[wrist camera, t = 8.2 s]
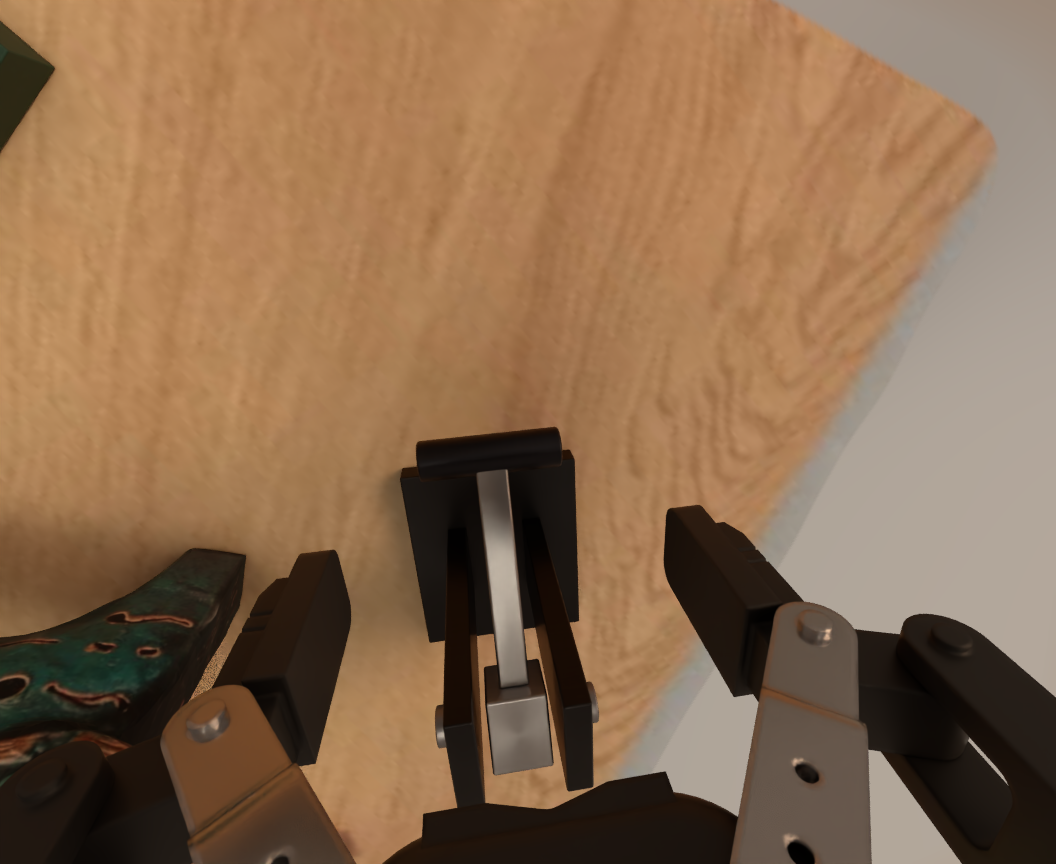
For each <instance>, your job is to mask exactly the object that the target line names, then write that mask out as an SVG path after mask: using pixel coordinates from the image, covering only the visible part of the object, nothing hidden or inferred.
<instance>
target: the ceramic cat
mask: <svg viewBox="0 0 1056 864" xmlns="http://www.w3.org/2000/svg"><path fill="white" fill-rule="evenodd" d="M245 561H246V555H241V554H235V553H228V552H222V551H215V550H207V549H196V548H195V549H190V550H189V551H187V552H186V553H185V554H183V555H182V556H181V557H180V558H179V559H178V560H177V561H176V562H174V563H173V564H172V565H171V566H170V567H168V568H167V569H166V570H164V571H163V572H161V573H160V574H159V575H157V576H156V577H154V578H153V579H152V580H150V581H149V582H147V583H146V584H144V585H143V586H141V587H140V588H138V589H136V590H135V591H133V592H132V593H130V594H128V595H126V596H124V597H122V598H119V599H117V600H114V601H112V602H110V603H107V604H105V605H103V606H101V607H99V608H97V609H95V610H93V611H91V612H89V613H87V614H85V615H83V616H81V617H79V618H77V619H74V620H71V621H69V622H66V623H64V624H61V625H58V626H56V627H52V628H49V629H46V630H43V631H39V632H34V633H30V634H26V635H19V636H11V637H0V787H1V786H2V785H3V784H4V782H5V781H6V780H7V779H8V778H10V777H11V776H12V775H13V774H14V773H15V772H16V771H18V770H19V769H20V768H21V767H23V766H24V765H25V764H27V763H28V762H30V761H31V760H33V759H34V758H36V757H38V756H39V755H41V754H43V753H45V752H47V751H49V750H51V749H53V748H55V747H58V746H60V745H63V744H66V743H70V742H74V741H91V742H94V743H96V744H97V745H98V746H99V747H100V748H101V750H102V752H103V753H104V755H105V757H106V756H109V755H111V754H114V753H116V752H119V751H121V750H124V749H126V748H129V747H131V746H134V745H136V744H139V743H141V742H144V741H146V740H149V739H151V738H154V737H156V736H158V735H160V734H162V733H163V730H164V728H165V727H166V725H167V723H168V722H169V720H170V719H171V718H172V717H173V715H174V714H175V713H176V712H177V711H178V710H179V709H180V708H181V707H182V706H184V705H185V704H186V703H187V702H188V701H189V700H190V698H191V696H192V694H193V693H194V691H195V689H196V687H197V685H198V683H199V682H200V680H201V678H202V675H203V673H204V670H205V669H206V667H207V665H208V664H209V662H210V660H211V659H212V657H213V656H214V654H215V652H216V651H217V649H218V647H219V646H220V644H221V642H222V641H223V639H224V637H225V636H226V633H227V631H228V629H229V627H230V624H231V622H232V620H233V618H234V616H235V614H236V613H237V611H238V609H239V606H240V599H241V595H242V588H243V579H244V569H245Z"/></svg>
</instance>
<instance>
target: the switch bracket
mask: <svg viewBox="0 0 1056 864" xmlns="http://www.w3.org/2000/svg"><path fill="white" fill-rule="evenodd" d="M508 479H509V489H510V498H511V508H512V518H513V528H514V538H515V548H516V557H517V567H518V577H519V587H520V597H521V607H522V616H523V626H524V629H528V628H536V633H537V638H538V643H539V649H540V654H541V659H542V664H543V669H544V674H545V679H546V684H547V690H548V695H549V700H550V705H551V710H552V715H553V720H554V725H555V731H556V736H557V741H558V746H559V751H560V756H561V761H562V766H563V772H564V777H565V782H566V787H567V790H568V791H575V790H581V789H586V788H592V787H593V785H594V781H593V723H596V722H598V721H599V710H598V703H597V697H596V693H595V689H594V686H593V684H592V682H586V679H585V676H584V672H583V669H582V665H581V661H580V658H579V654H578V651H577V647H576V644H575V640H574V637H573V633H572V630H571V626H570V622H577V621H579V602H578V565H577V529H576V492H575V459H574V457H573V455H572V453H571V451H570V450H563V451H562V464H561V466H559V467H551V468H542V469H533V470H525V471H516V472H508ZM400 482H401V488H402V493H403V499H404V504H405V510H406V515H407V521H408V526H409V532H410V537H411V543H412V548H413V554H414V560H415V565H416V571H417V576H418V582H419V587H420V593H421V598H422V604H423V609H424V615H425V620H426V626H427V632H428V637H429V642H430V643H432V642H439V641H445V659H444V699H443V705H438V706H437V707H436V711H435V730H436V740H437V745H438V748H445V747H446V748H447V753H448V759H449V764H450V770H451V775H452V781H453V786H454V791H455V797H456V802H457V808H460V807H465V806H471V805H477V804H482V803H485V786H484V766H483V747H482V727H481V707H480V688H479V668H478V649H477V636H480V635H487V634H494V632H493V623H492V614H491V604H490V595H489V586H488V577H487V568H486V559H485V549H484V540H483V531H482V522H481V513H480V504H479V494H478V485H477V476H472V477H464V478H455V479H446V480H438V481H429V482H421V480H420V478H419V474H418V469H417V467H411V468H403V469H402V472H401V477H400Z"/></svg>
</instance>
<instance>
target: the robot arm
mask: <svg viewBox="0 0 1056 864" xmlns="http://www.w3.org/2000/svg"><path fill="white" fill-rule="evenodd" d="M664 568H665V573H666V577H667V580H668V583H669V585H670V587H671V589H672V590H673V592H674V594H675V595H676V597H677V599H678V601H679V602H680V604H681V606H682V608H683V609H684V611H685V613H686V615H687V616H688V618H689V620H690V622H691V623H692V625H693V627H694V629H695V630H696V632H697V634H698V635H699V637H700V639H701V641H702V642H703V644H704V646H705V648H706V649H707V651H708V653H709V655H710V656H711V658H712V660H713V662H714V663H715V665H716V667H717V669H718V670H719V672H720V674H721V676H722V677H723V679H724V681H725V682H726V684H727V686H728V688H729V689H730V691H731V693H732V694H733V696H734V697H737V696H744V695H749V694H754V696H755V698H756V699H757V701H758V702H759V704H758V710H757V715H756V720H755V726H754V732H753V737H752V743H751V748H750V754H749V759H748V765H747V771H746V776H745V782H744V788H743V793H742V798H741V804H740V809H739V815H738V817H737V816H735V815H734V814H733V813H731V812H729V811H728V810H726V809H724V808H722V807H720V806H718V805H716V804H714V803H712V802H709V801H706V800H704V799H701V798H698V797H695V796H691V795H687V794H683V793H675V792H673V790H672V787H671V784H670V782H669V779H668V776H667V774H666V772H659V773H653V774H648V775H642V776H636V777H630V778H625V779H619V780H613V781H608V782H606V783H604V784H602V785H600V786H598V787H596V788H594V789H592V790H590V791H588V792H586V793H584V794H582V795H579V796H577V797H575V798H573V799H571V800H569V801H567V802H565V803H563V804H561V805H559V806H557V807H555V808H552V809H536V808H527V807H517V806H508V805H498V804H489V803H482V804H477V805H471V806H465V807H460V808H454V809H448V810H443V811H437V812H431V813H425V814H423V829H422V837H421V838H419V839H417V840H415V841H413V842H411V843H410V844H408V845H407V846H405V847H403V848H402V849H400V850H399V851H397V852H396V853H395V854H394V855H392V856H391V857H390V858H389V859H387V860H386V861H385V862H384V863H382V864H872V862H871V861H872V859H871V826H870V793H869V759H868V750H875V751H881V752H882V754H883V755H884V757H885V758H886V759H887V761H888V762H889V764H890V765H891V766H892V768H893V769H894V770H895V772H896V773H897V775H898V776H899V777H900V779H901V780H902V782H903V783H904V784H905V785H906V787H907V788H908V790H909V791H910V793H911V794H912V795H913V797H914V798H915V799H916V801H917V802H918V804H919V805H920V806H921V808H922V809H923V811H924V812H925V813H926V815H927V816H928V817H929V819H930V820H931V821H932V823H933V824H934V826H935V827H936V829H937V830H938V831H939V833H940V834H941V835H942V837H943V838H944V839H945V841H946V842H947V844H948V845H949V847H950V848H951V849H952V850H953V852H954V853H955V855H956V856H957V857H958V859H959V860H960V862H961V863H962V864H1056V697H1054V696H1053V695H1052V694H1051V693H1050V692H1049V691H1047V690H1046V689H1045V688H1044V687H1043V686H1042V685H1040V684H1039V683H1038V682H1037V681H1036V680H1035V679H1034V678H1032V677H1031V676H1030V675H1029V674H1028V673H1026V672H1025V671H1024V670H1023V669H1022V668H1021V667H1020V666H1018V665H1017V664H1016V663H1015V662H1014V661H1013V660H1011V659H1010V658H1009V657H1008V656H1007V655H1006V654H1005V653H1003V652H1002V651H1001V650H1000V649H999V648H998V647H996V646H995V645H994V644H993V643H992V642H991V641H989V640H988V639H987V638H985V636H983V635H982V634H981V633H979V632H978V631H976V630H974V629H973V628H971V627H969V626H967V625H965V624H963V623H960V622H958V621H956V620H953V619H950V618H947V617H944V616H939V615H933V614H918V615H913V616H911V617H909V618H907V619H906V620H905V621H904V623H903V626H902V630H901V633H900V634H892V633H882V632H873V631H864V630H857V629H854V628H853V627H852V625H851V624H850V623H849V622H848V621H847V620H846V619H845V618H843V617H842V616H841V615H839V614H838V613H836V612H835V611H833V610H831V609H829V608H826V607H824V606H821V605H818V604H815V603H810V602H804V601H803V600H802V599H801V597H800V596H799V595H798V594H797V593H796V592H795V591H794V590H793V589H792V587H791V586H790V585H789V584H788V583H787V582H786V581H785V580H784V578H783V577H782V576H781V575H780V574H779V573H778V572H777V571H776V570H775V568H774V567H773V566H772V565H771V564H770V563H769V562H766V558H765V557H764V556H763V555H762V554H761V553H760V552H759V551H758V550H756V549H755V546H754V545H753V544H752V543H751V542H750V541H749V539H748V538H747V537H746V536H745V535H744V534H743V533H742V532H740V531H738V530H737V529H735V528H733V527H731V526H730V525H728V524H726V523H725V522H721V523H715V522H714V520H713V519H712V518H711V517H710V516H709V514H708V513H707V512H706V511H705V510H704V508H703V507H702V506H700V505H693V506H685V507H677V508H670V509H668V511H667V514H666V528H665V545H664ZM350 625H351V605H350V600H349V596H348V592H347V588H346V584H345V580H344V576H343V573H342V569H341V565H340V561H339V557H338V554H337V552H336V551H335V550H327V551H319V552H311V553H303V554H300V555H299V556H298V558H297V560H296V562H295V564H294V566H293V569H292V571H291V573H290V575H289V577H288V578H280V579H276V580H275V581H274V582H273V583H272V584H271V585H270V586H269V587H268V588H267V589H266V590H265V591H264V592H263V593H262V594H261V595H260V596H259V597H258V599H257V601H256V603H255V605H254V607H253V609H252V611H251V613H250V618H248V619H247V620H246V622H245V624H244V626H243V628H242V633H240V634H239V636H238V638H237V640H236V642H235V644H234V646H233V648H232V650H231V652H230V653H229V655H228V657H227V659H226V661H225V663H224V665H223V667H222V669H221V671H220V673H219V675H218V677H217V679H216V681H215V683H214V685H213V686H212V688H211V689H210V690H208V691H205V692H204V693H202V694H200V695H198V696H196V697H195V698H193V699H192V700H190V701H189V702H187V703H186V704H185V705H184V706H182V707H181V708H180V709H179V710H178V711H177V712H176V713H175V714H174V715H173V717H172V718H171V719H170V720H169V722H168V723H167V725H166V727H165V728H164V730H163V733H162V734H160V735H158V736H156V737H154V738H151V739H149V740H146V741H144V742H141V743H139V744H136V745H134V746H131V747H129V748H126V749H124V750H121V751H119V752H116V753H114V754H111V755H109V756H106V757H105V755H104V753H103V752H102V750H101V748H100V747H99V746H98V745H97V744H96V743H94V742H91V741H74V742H70V743H66V744H63V745H60V746H58V747H55V748H53V749H51V750H49V751H47V752H45V753H43V754H41V755H39V756H38V757H36V758H34V759H33V760H31V761H30V762H28V763H27V764H25V765H24V766H23V767H21V768H20V769H19V770H18V771H16V772H15V773H14V774H13V775H12V776H11V777H10V778H8V779H7V780H6V781H5V782H4V784H3V785H2V786H1V787H0V864H191V863H193V864H356V862H355V861H354V859H353V857H352V856H351V854H350V852H349V851H348V849H347V847H346V845H345V844H344V842H343V840H342V839H341V837H340V835H339V833H338V832H337V830H336V828H335V827H334V825H333V823H332V822H331V820H330V818H329V816H328V815H327V813H326V811H325V810H324V808H323V806H322V804H321V803H320V801H319V799H318V798H317V796H316V794H315V792H314V791H313V789H312V787H311V786H310V784H309V782H308V781H307V779H306V777H305V775H304V774H303V772H302V770H301V769H300V767H299V766H304V765H310V764H316V760H317V756H318V752H319V748H320V744H321V740H322V736H323V732H324V728H325V724H326V721H327V717H328V713H329V709H330V705H331V701H332V697H333V693H334V689H335V685H336V681H337V677H338V674H339V670H340V666H341V662H342V658H343V654H344V650H345V646H346V642H347V638H348V634H349V631H350ZM969 737H970V738H971V740H972V741H973V742H974V743H975V744H976V745H977V746H978V747H979V748H980V749H981V751H982V752H984V754H985V755H986V756H987V757H988V758H989V759H990V760H991V762H992V763H993V764H994V765H995V766H996V767H997V768H998V769H999V771H1000V772H1001V773H1002V775H1003V776H1004V778H1005V779H1006V781H1007V783H1008V785H1009V786H1008V785H1007V784H1006V783H1005V782H1004V780H1003V779H1002V778H1001V777H1000V776H999V775H998V774H997V773H996V772H995V770H994V769H993V768H992V767H991V766H990V765H989V764H988V763H987V762H986V761H985V759H984V758H983V757H982V756H981V755H980V754H979V753H978V752H977V750H976V749H975V748H974V747H973V746H972V745H971V744H970V743H969V742H968V739H969Z"/></svg>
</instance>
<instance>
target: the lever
mask: <svg viewBox="0 0 1056 864" xmlns="http://www.w3.org/2000/svg"><path fill="white" fill-rule="evenodd" d="M416 460H417V469H418V474H419V478H420V480H421V482H429V481H438V480H446V479H455V478H464V477H472V476H477V485H478V494H479V504H480V513H481V522H482V531H483V540H484V549H485V559H486V568H487V577H488V586H489V595H490V604H491V614H492V623H493V632H494V641H495V650H496V659H497V665H493V666H487V667H485V668H484V682H485V706H486V715H487V724H488V732H489V741H490V750H491V759H492V768H493V774H494V775H501V774H507V773H513V772H518V771H524V770H530V769H536V768H542V767H547V766H552V765H553V763H554V762H553V751H552V741H551V731H550V721H549V710H548V700H547V693H546V689H545V685H544V680H543V676H542V672H541V667H540V663H539V660H538V659H533V660H527V656H526V646H525V636H524V626H523V616H522V607H521V597H520V587H519V577H518V567H517V557H516V548H515V538H514V528H513V518H512V508H511V498H510V489H509V479H508V472H516V471H525V470H533V469H542V468H551V467H559V466H561V464H562V444H561V438H560V434H559V431H558V429H557V427H548V428H539V429H530V430H520V431H511V432H502V433H492V434H483V435H474V436H464V437H455V438H446V439H436V440H427V441H419V442H417V445H416Z"/></svg>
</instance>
